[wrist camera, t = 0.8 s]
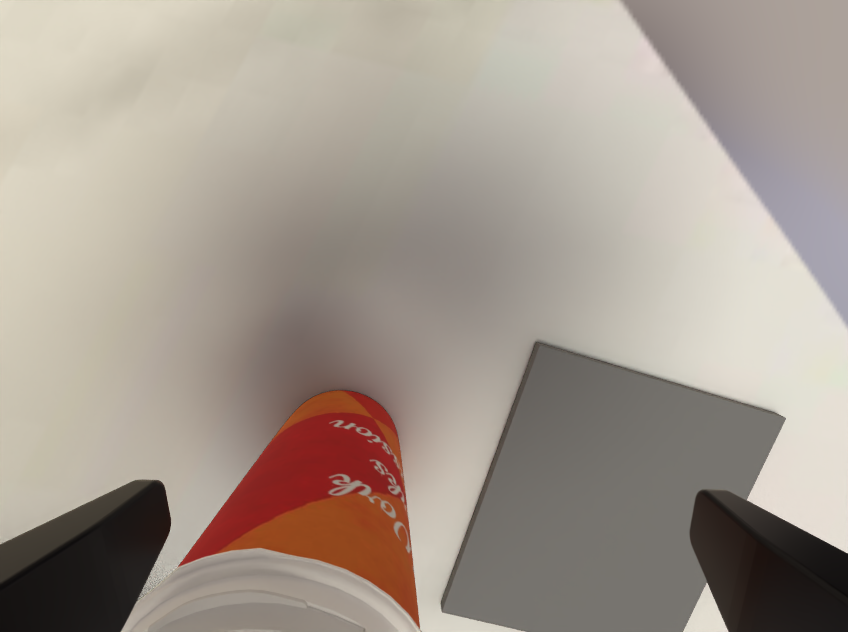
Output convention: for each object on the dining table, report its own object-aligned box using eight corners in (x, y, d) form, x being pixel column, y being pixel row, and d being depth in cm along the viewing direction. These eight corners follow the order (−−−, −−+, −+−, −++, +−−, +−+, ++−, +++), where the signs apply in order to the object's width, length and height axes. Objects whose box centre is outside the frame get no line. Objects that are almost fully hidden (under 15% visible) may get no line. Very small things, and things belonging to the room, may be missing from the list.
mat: (441, 603, 25) (441, 612, 25) (536, 342, 23) (540, 345, 22) (661, 654, 27) (667, 664, 26) (776, 413, 24) (786, 418, 23)
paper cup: (430, 500, 24) (466, 875, 10) (280, 524, 24) (115, 934, 10) (407, 353, 22) (413, 567, 9) (245, 378, 22) (-3, 633, 9)
